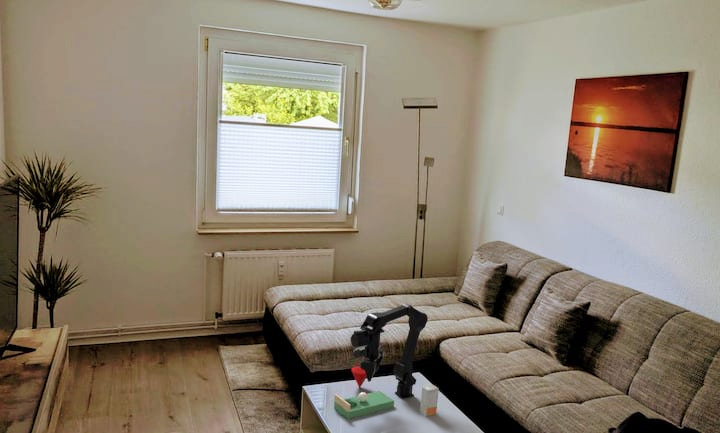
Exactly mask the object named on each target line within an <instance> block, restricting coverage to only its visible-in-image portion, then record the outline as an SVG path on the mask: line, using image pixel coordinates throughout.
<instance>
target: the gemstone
mask: <svg viewBox="0 0 720 433" xmlns="http://www.w3.org/2000/svg"><path fill="white" fill-rule="evenodd" d="M350 370H351V373H352V375H353V377H354V380H355V382H356V383H357V386H358V388H359V387H360V388H361V387H362V385H364V384H363V383H364V382H365V381H366V380H367V376H366V373H365V371H364V370H363V369H361V368H360V365H359V366H354V367H352V368H351V369H350Z"/></svg>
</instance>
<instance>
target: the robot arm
mask: <svg viewBox="0 0 720 433" xmlns="http://www.w3.org/2000/svg"><path fill="white" fill-rule="evenodd" d="M406 316H407V317H408V320H407V321H408V322H407V323H408V326H409V329H408V333H407V337H406V340H405V344H404V349H403V352H402V355H401V358H400V360H399V361H395V363H394V366H393V369H392V371H393V375H394V377H395V379H396V381H398V382H397V385H396V391H395V392H394V394H395V395H397V396H398V397H400V398H401V399H406V398H412V397H414V396H415V394H413V386H414V385H416V384H417V383H416V382H417V378H415V376H413V372H414V368H413V364H412V363H413V359H414V355H415V352H416V348H417V345H418V340H419V337H420V333H421V332H422V331H423V330H424V329H425V327H426V325H427V323H428V319H429V317H428V315H427V314H426V313H424V312H422V311H419V310H417V308H415V307H414V306H412V305H410V304H408V303H403V304H401V305H399V306H397V307H393V308H391V309H388V310H386V311H383V312H382V311H381V312H377V311H376V312H370V313H369V314H367V315H366V318H365V319H364V321H363V323H362V325H361V326H360V328H359V330H354V331H353V334H351V336H350V343H351V346H352V347H353V348H354V350H353V352H352V356H353V357H354V359H358V358H361V357H363V360H362V361H361V362H360V363H359V366H360V368H361V369H363V370H364V371H365V373H366V376H367V377H366V380H367V382H371V381H372V379H373V376H374V374H376V373H377V372H378V370H379V368H380V365H381V363H382V362H383V359H384V357H385V354H386V353H385V352H386V351H385V349H384V348H382V344H381V334H382V333H385V330H384V329H383V328H384V327H385V326H386V325H387V324H388V323H390V322H393V321H395V320H397V319H401V318H403V317H406Z"/></svg>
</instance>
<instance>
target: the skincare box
mask: <svg viewBox="0 0 720 433" xmlns="http://www.w3.org/2000/svg"><path fill="white" fill-rule="evenodd" d="M439 390H440V389H439V387H437V386H436V385H434V384H431V385H429V384H428V385H423V386H422V387H421V398H420V407H419V413H421V414H422V415H423V416H424V417H427V416H431V415H432V416H433V415H435V414H437V409H438V400H439V399H438V398H439Z"/></svg>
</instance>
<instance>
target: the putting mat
mask: <svg viewBox="0 0 720 433" xmlns="http://www.w3.org/2000/svg"><path fill="white" fill-rule="evenodd" d="M366 394H367V396H368V398H367V400H366V401H365V402H361V401H360V400H359V398H358V396H359V395H357V396H352V397H347V398H342V397H341V396H340V395H339V394H334V400H333V401H334V403H333V408H334V409H335V410H336V411H337V413H338V414H339V415H341V416H343V417H345V418H346V419H347V420H349V419H353V418H357V417H361V416H364V415H368V414H369V415H370V414H372V413H377V412H380V411H384V410H388V409H391V408H394V407H395V400H394V399H392V398H391V397H390V396H388V395H386V394H385V393H383V391H380V390H377V391H374V392H373V391H372V392H369V393H366ZM376 411H377V412H376Z"/></svg>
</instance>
